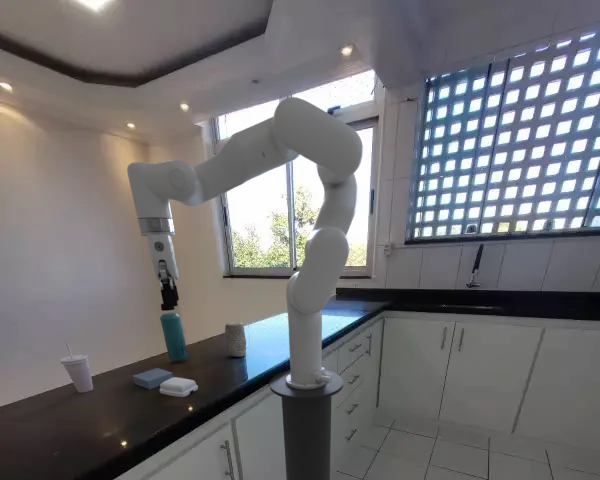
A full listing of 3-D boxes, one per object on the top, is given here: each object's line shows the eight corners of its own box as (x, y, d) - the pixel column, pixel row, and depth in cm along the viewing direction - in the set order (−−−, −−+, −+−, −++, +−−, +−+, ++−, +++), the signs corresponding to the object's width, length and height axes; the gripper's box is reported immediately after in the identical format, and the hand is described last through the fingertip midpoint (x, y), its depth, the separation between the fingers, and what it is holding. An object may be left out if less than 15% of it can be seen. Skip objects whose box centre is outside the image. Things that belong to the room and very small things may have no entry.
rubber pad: (174, 380, 94) (172, 372, 92) (149, 389, 88) (147, 381, 87) (158, 375, 98) (156, 367, 97) (134, 383, 92) (132, 376, 91)
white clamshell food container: (157, 393, 85) (155, 383, 84) (175, 383, 91) (173, 374, 90) (183, 397, 82) (181, 387, 81) (200, 388, 88) (198, 378, 86)
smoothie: (66, 394, 86) (47, 345, 80) (84, 385, 92) (67, 338, 86) (87, 395, 85) (69, 345, 79) (103, 385, 91) (88, 339, 85)
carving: (251, 354, 115) (247, 321, 109) (237, 360, 109) (233, 326, 104) (238, 352, 118) (234, 320, 112) (224, 357, 112) (219, 324, 107)
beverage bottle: (185, 364, 107) (173, 304, 98) (166, 364, 107) (152, 304, 98) (191, 358, 112) (180, 301, 104) (173, 358, 113) (160, 301, 104)
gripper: (172, 225, 66) (186, 307, 74) (175, 230, 81) (187, 298, 89) (134, 226, 64) (153, 310, 72) (144, 230, 79) (159, 300, 87)
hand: (172, 303), depth 80 cm, fingers open, 9 cm apart
